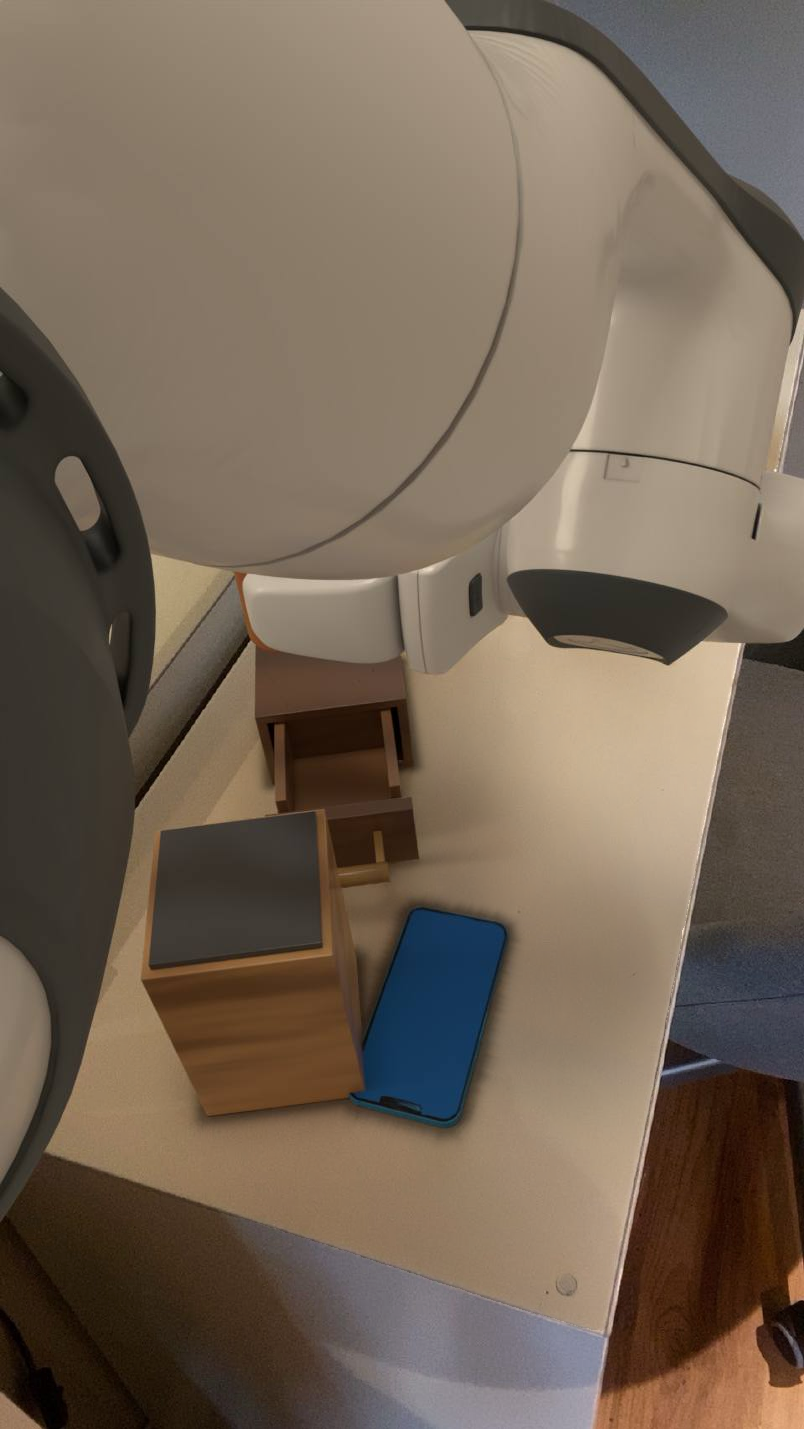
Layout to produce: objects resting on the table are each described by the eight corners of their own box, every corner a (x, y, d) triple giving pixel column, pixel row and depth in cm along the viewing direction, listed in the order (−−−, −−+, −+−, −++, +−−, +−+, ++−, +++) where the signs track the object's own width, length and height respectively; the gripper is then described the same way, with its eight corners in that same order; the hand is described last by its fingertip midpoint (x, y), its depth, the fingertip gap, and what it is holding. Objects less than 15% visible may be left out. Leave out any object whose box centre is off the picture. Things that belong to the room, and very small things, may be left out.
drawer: (425, 907, 74) (419, 856, 70) (279, 925, 74) (264, 876, 70) (404, 747, 85) (398, 695, 81) (277, 763, 85) (264, 712, 81)
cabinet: (414, 765, 85) (406, 698, 79) (271, 784, 85) (254, 717, 79) (399, 663, 94) (392, 596, 88) (271, 679, 94) (255, 613, 88)
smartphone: (511, 924, 73) (457, 1127, 63) (511, 932, 74) (457, 1134, 63) (410, 903, 75) (341, 1097, 65) (411, 911, 75) (343, 1104, 65)
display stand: (366, 1095, 65) (331, 949, 54) (206, 1116, 65) (137, 974, 54) (356, 957, 72) (323, 802, 61) (212, 976, 72) (152, 824, 61)
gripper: (538, 370, 58) (309, 350, 62) (418, 593, 44) (137, 549, 48) (537, 470, 62) (323, 446, 66) (428, 700, 49) (169, 652, 53)
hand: (243, 491), depth 57 cm, fingers closed on lotion bottle, 4 cm apart
